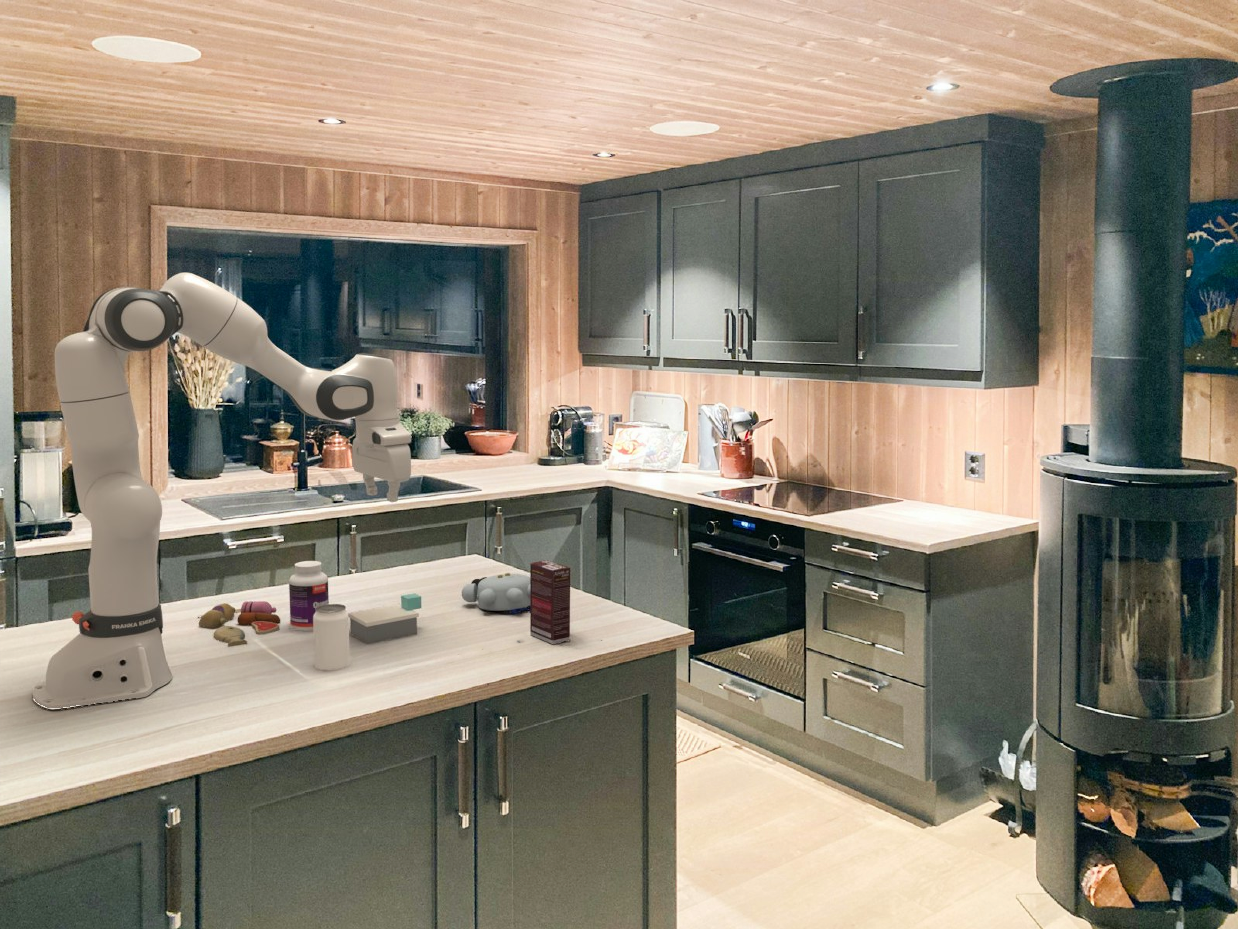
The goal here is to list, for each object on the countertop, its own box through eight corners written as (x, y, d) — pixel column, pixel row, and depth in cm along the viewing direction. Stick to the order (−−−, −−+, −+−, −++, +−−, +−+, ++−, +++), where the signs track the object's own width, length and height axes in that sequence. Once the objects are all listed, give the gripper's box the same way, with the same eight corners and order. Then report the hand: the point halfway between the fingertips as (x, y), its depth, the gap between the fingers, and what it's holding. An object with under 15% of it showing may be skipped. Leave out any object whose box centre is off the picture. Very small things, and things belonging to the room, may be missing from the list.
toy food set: (186, 620, 225) (185, 603, 224) (258, 608, 235) (258, 591, 235) (228, 650, 206) (227, 631, 205) (305, 635, 216) (304, 616, 216)
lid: (366, 629, 206) (366, 610, 205) (348, 619, 212) (347, 601, 212) (428, 617, 214) (427, 599, 214) (408, 608, 221) (408, 590, 221)
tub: (367, 647, 207) (367, 626, 206) (350, 637, 213) (350, 616, 212) (417, 637, 214) (416, 616, 213) (399, 627, 220) (398, 607, 219)
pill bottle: (318, 635, 214) (316, 569, 212) (283, 633, 216) (281, 567, 213) (336, 624, 222) (334, 560, 220) (302, 622, 223) (300, 558, 221)
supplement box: (571, 640, 213) (571, 567, 211) (552, 645, 210) (552, 570, 208) (547, 630, 219) (547, 559, 217) (529, 635, 216) (529, 562, 214)
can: (331, 676, 190) (329, 614, 188) (307, 670, 193) (305, 609, 192) (356, 666, 195) (355, 606, 194) (333, 660, 199) (331, 601, 197)
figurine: (559, 606, 237) (504, 597, 251) (556, 570, 237) (502, 564, 250) (501, 621, 225) (448, 611, 239) (499, 583, 224) (445, 576, 238)
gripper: (342, 429, 214) (346, 493, 216) (386, 438, 198) (390, 507, 200) (370, 426, 218) (374, 489, 220) (415, 435, 202) (418, 503, 204)
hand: (382, 498), depth 210 cm, fingers open, 8 cm apart
